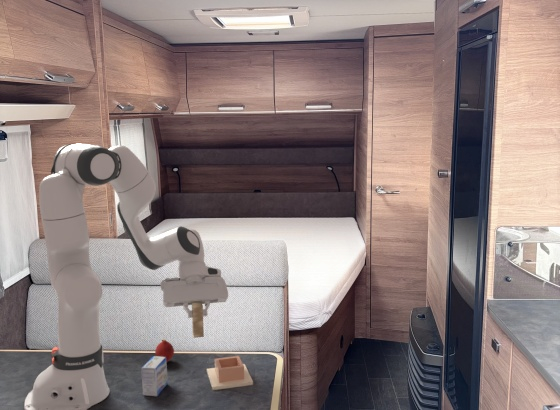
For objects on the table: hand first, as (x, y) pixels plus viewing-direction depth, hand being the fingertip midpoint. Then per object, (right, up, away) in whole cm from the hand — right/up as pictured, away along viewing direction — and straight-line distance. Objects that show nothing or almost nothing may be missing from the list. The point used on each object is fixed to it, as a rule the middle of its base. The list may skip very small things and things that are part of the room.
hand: (197, 316), depth 173 cm
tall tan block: (0, -6, +2) cm, 6 cm away
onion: (-12, -17, +9) cm, 22 cm away
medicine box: (-11, -20, -8) cm, 24 cm away
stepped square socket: (+10, -18, -2) cm, 21 cm away
